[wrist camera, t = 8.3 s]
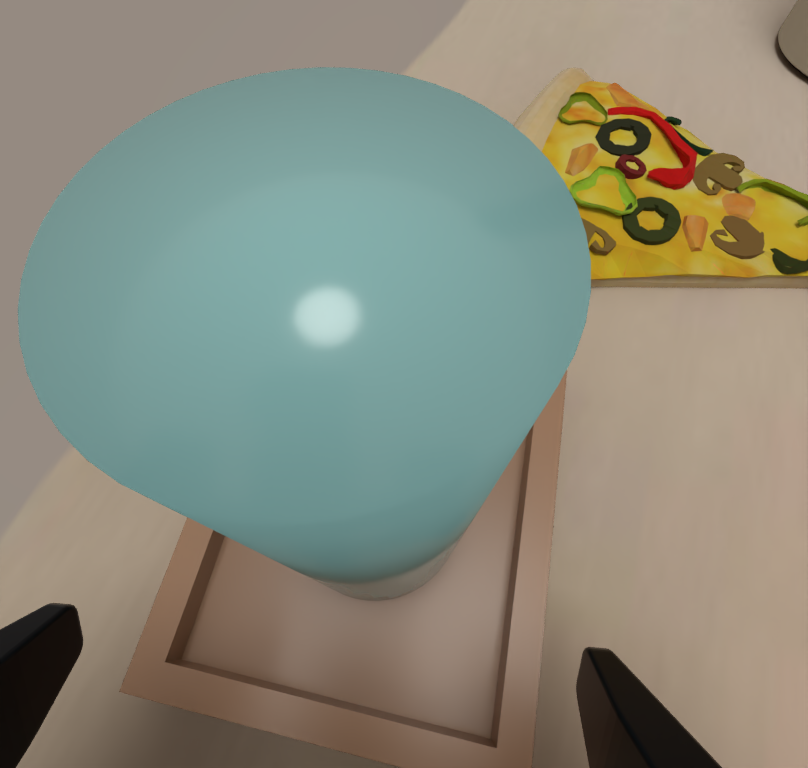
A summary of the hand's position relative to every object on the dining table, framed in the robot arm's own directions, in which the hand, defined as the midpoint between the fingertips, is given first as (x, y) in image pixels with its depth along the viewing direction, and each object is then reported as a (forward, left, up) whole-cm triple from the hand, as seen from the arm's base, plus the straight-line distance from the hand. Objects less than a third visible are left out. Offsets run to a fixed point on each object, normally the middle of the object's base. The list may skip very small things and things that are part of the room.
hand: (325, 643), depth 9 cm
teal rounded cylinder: (+4, +1, -8) cm, 9 cm away
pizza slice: (+21, -11, -10) cm, 26 cm away
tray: (+4, +1, -9) cm, 10 cm away
